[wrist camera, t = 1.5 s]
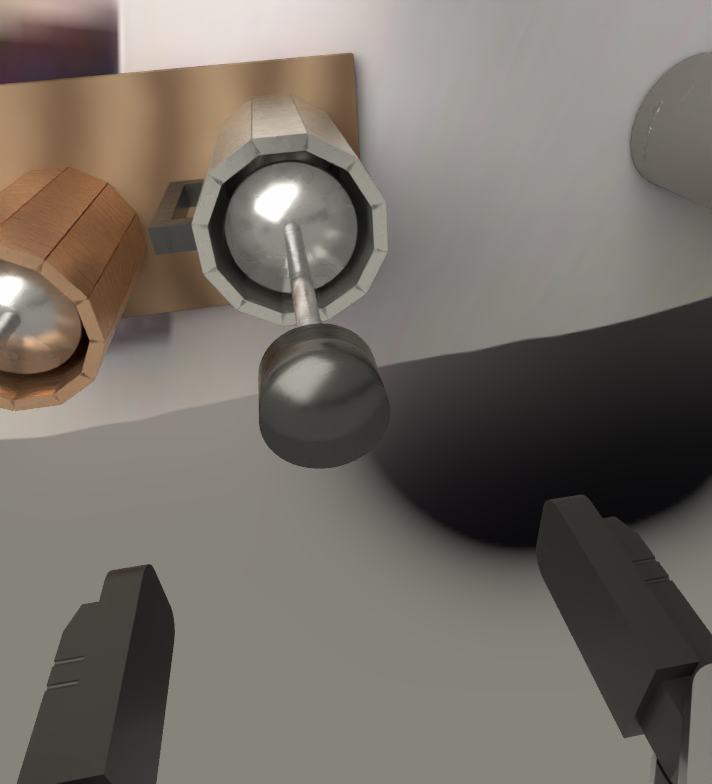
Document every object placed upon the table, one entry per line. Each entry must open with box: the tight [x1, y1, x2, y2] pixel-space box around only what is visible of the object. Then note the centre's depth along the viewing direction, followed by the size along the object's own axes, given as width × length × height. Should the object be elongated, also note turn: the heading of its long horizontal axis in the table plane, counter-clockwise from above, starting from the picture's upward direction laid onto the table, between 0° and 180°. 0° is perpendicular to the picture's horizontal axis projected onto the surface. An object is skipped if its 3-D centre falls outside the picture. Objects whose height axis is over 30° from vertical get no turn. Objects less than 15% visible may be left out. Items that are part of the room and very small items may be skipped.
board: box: [0, 53, 360, 318], centre depth 39 cm, size 26×16×1 cm, turn 94°
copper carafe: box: [0, 167, 147, 411], centre depth 33 cm, size 12×9×14 cm
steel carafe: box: [148, 93, 388, 326], centre depth 33 cm, size 12×9×14 cm
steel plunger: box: [225, 160, 390, 468], centre depth 22 cm, size 7×7×16 cm
